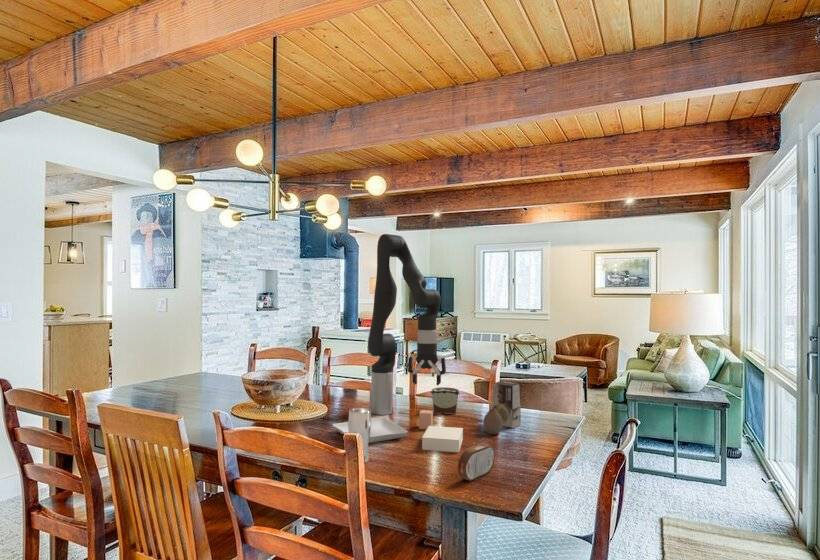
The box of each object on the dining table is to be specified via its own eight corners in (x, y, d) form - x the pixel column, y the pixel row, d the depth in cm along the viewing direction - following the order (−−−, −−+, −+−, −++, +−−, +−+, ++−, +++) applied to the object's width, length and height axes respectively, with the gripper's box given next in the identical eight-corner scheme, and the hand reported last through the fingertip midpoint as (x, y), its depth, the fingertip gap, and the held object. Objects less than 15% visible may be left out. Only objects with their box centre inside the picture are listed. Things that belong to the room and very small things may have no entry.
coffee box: (521, 425, 191) (521, 383, 192) (512, 428, 187) (512, 385, 187) (501, 420, 198) (501, 380, 198) (492, 423, 193) (492, 382, 193)
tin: (487, 468, 144) (487, 439, 145) (496, 470, 142) (497, 441, 142) (456, 482, 133) (456, 451, 134) (465, 485, 131) (466, 453, 131)
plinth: (422, 449, 160) (422, 437, 160) (428, 437, 174) (428, 425, 174) (458, 452, 158) (459, 440, 158) (462, 439, 172) (462, 428, 172)
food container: (459, 410, 213) (459, 387, 214) (459, 414, 207) (459, 390, 208) (431, 409, 215) (431, 386, 215) (430, 413, 209) (430, 389, 209)
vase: (503, 431, 183) (503, 407, 183) (500, 436, 176) (501, 412, 176) (485, 429, 185) (485, 406, 185) (481, 434, 178) (481, 410, 178)
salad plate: (351, 449, 161) (352, 438, 161) (331, 432, 180) (331, 422, 180) (409, 441, 171) (409, 431, 171) (383, 425, 189) (384, 416, 189)
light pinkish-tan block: (419, 428, 184) (419, 412, 185) (421, 425, 189) (421, 410, 189) (430, 429, 184) (431, 413, 184) (432, 426, 188) (432, 410, 188)
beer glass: (348, 456, 153) (348, 407, 153) (370, 455, 154) (371, 407, 154) (347, 464, 146) (348, 413, 146) (370, 463, 147) (371, 413, 147)
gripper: (406, 342, 185) (406, 385, 184) (444, 343, 182) (444, 387, 182) (410, 340, 192) (410, 382, 192) (446, 341, 189) (446, 383, 189)
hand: (426, 384), depth 187 cm, fingers open, 8 cm apart
